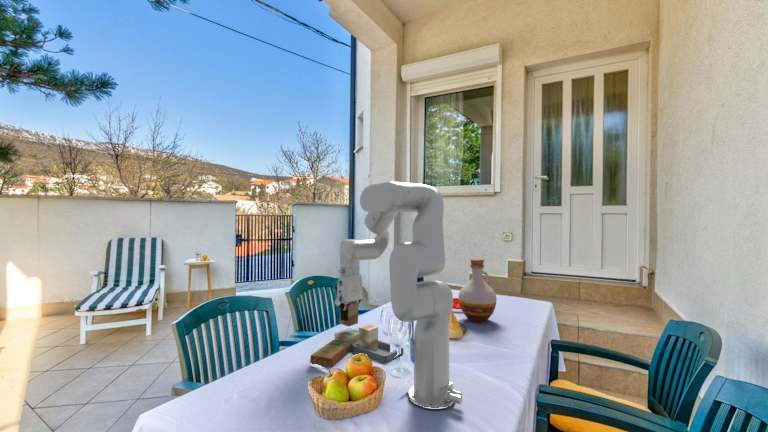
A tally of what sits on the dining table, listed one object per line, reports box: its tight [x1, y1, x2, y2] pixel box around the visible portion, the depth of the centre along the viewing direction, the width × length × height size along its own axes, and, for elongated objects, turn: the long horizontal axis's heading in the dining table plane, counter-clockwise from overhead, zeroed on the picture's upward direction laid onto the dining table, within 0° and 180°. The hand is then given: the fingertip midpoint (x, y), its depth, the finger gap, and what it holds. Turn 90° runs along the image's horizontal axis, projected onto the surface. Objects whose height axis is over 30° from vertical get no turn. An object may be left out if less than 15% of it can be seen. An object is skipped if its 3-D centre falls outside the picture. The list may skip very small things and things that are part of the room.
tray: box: [350, 339, 404, 364], centre depth 118 cm, size 16×10×3 cm, turn 51°
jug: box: [458, 257, 497, 324], centre depth 161 cm, size 20×18×30 cm
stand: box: [334, 327, 359, 344], centre depth 127 cm, size 8×8×5 cm
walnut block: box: [339, 302, 359, 327], centre depth 127 cm, size 5×5×8 cm
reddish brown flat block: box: [309, 339, 353, 368], centre depth 114 cm, size 8×16×4 cm, turn 161°
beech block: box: [358, 324, 379, 351], centre depth 121 cm, size 5×5×8 cm
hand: (349, 317), depth 127 cm, fingers closed on walnut block, 5 cm apart
